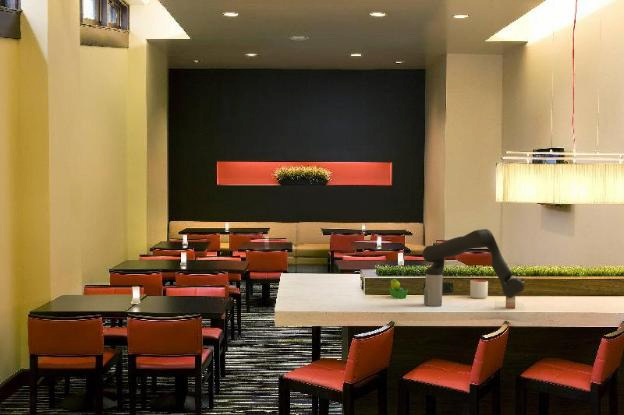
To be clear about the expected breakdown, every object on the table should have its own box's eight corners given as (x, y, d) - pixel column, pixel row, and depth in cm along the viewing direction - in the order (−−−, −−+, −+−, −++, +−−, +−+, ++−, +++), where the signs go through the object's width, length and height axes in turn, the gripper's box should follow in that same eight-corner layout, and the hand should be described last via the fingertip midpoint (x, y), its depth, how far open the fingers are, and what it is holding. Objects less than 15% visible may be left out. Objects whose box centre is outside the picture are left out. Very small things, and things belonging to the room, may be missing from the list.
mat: (525, 310, 440) (525, 309, 440) (494, 309, 444) (494, 308, 444) (523, 303, 464) (523, 302, 464) (494, 302, 467) (494, 301, 467)
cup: (482, 299, 475) (483, 282, 474) (467, 297, 481) (467, 280, 481) (490, 297, 483) (490, 280, 482) (474, 295, 489) (475, 279, 488)
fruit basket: (408, 298, 475) (409, 279, 474) (395, 299, 472) (395, 280, 471) (399, 295, 485) (400, 276, 485) (386, 296, 482) (386, 277, 481)
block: (515, 308, 443) (515, 281, 443) (505, 308, 444) (506, 280, 444) (514, 307, 448) (515, 280, 447) (505, 306, 449) (506, 279, 449)
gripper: (526, 276, 414) (524, 272, 431) (499, 275, 417) (499, 271, 434) (525, 291, 414) (524, 286, 431) (499, 290, 417) (498, 285, 434)
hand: (511, 279), depth 433 cm, fingers closed
